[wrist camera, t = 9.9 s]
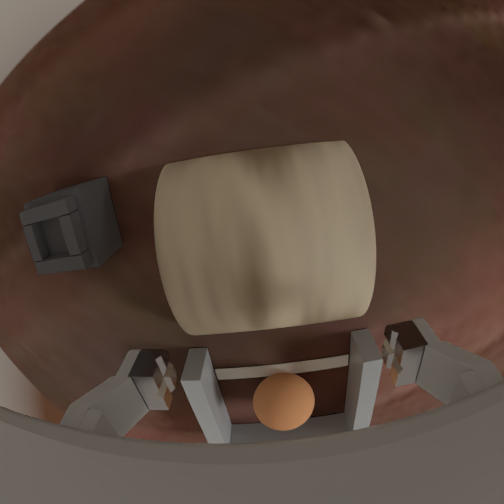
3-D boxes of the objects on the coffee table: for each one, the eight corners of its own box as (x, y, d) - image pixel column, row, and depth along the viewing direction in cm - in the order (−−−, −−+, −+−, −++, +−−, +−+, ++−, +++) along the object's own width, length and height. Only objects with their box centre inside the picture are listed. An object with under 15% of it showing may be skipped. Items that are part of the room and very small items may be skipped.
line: (348, 354, 19) (348, 355, 19) (347, 364, 19) (347, 365, 19) (215, 368, 19) (214, 369, 19) (218, 378, 20) (217, 379, 20)
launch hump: (320, 136, 19) (372, 141, 10) (330, 269, 23) (369, 354, 14) (190, 153, 20) (135, 173, 11) (215, 283, 24) (191, 373, 14)
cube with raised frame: (106, 176, 15) (68, 190, 11) (123, 244, 16) (92, 274, 13) (54, 191, 15) (13, 208, 11) (70, 253, 16) (36, 280, 13)
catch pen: (368, 328, 18) (388, 370, 14) (356, 419, 22) (365, 456, 18) (189, 348, 19) (176, 393, 15) (221, 433, 23) (217, 471, 19)
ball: (311, 372, 20) (311, 364, 17) (316, 425, 18) (318, 429, 15) (256, 378, 21) (245, 371, 17) (259, 430, 19) (249, 435, 15)
